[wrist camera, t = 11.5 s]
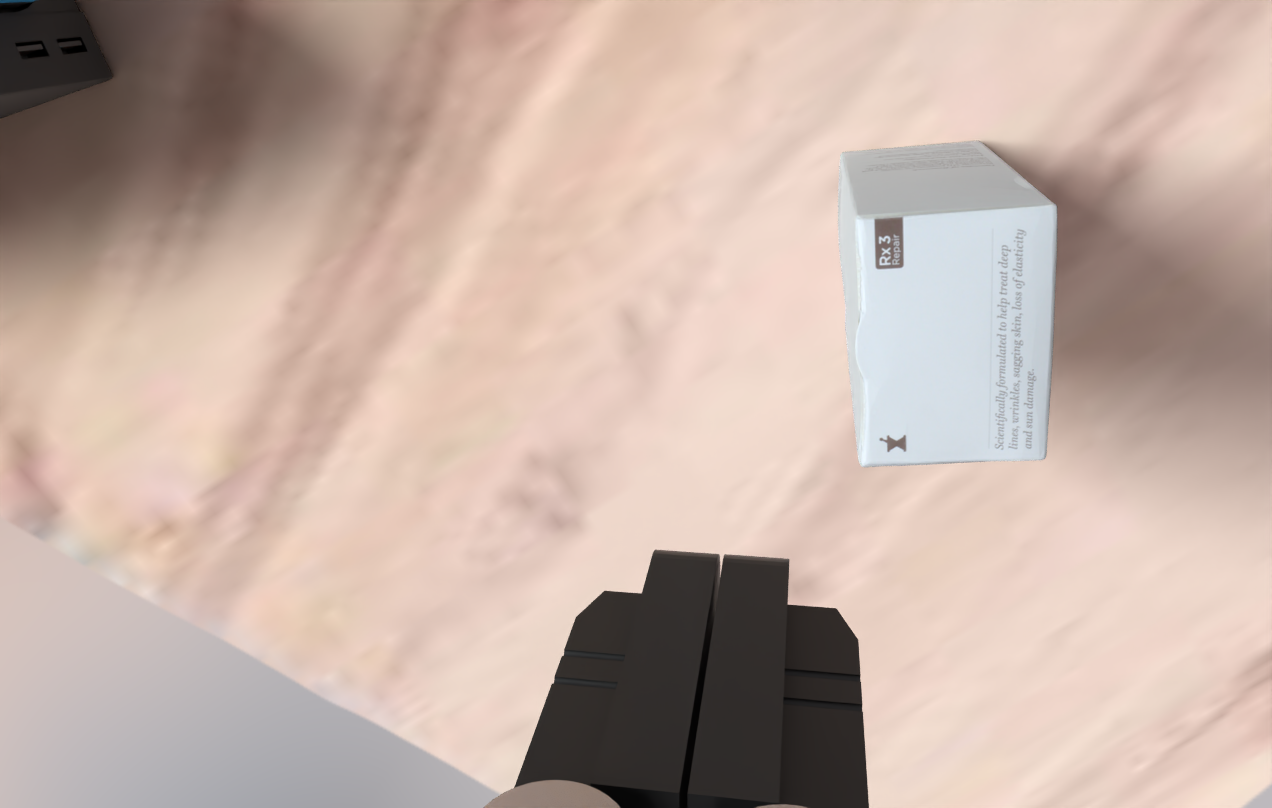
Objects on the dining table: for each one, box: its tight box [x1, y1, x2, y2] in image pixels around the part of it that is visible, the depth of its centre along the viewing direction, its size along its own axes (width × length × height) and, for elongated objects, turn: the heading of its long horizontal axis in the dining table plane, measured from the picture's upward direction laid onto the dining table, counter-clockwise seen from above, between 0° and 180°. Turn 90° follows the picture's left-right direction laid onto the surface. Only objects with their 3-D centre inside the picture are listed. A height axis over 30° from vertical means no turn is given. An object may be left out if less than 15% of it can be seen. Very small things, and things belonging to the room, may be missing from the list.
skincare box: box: [838, 141, 1057, 467], centre depth 36 cm, size 8×6×15 cm
